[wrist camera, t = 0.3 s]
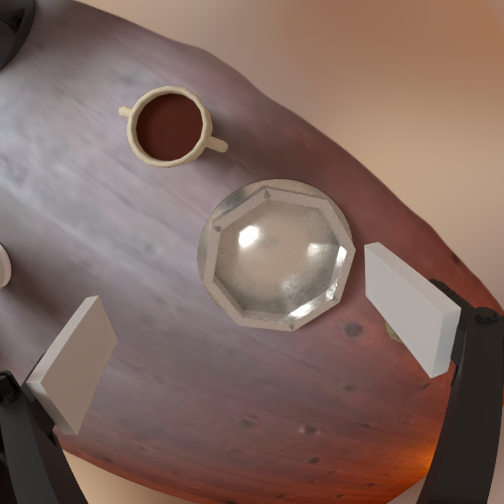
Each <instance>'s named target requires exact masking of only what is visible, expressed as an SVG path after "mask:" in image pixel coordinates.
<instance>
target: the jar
mask: <svg viewBox="0 0 504 504" xmlns="http://www.w3.org/2000/svg"><path fill="white" fill-rule="evenodd" d="M10 277H11V264H10V260H9V257H8V254H7V252H6V251H5V249H4V248H3V246H2V245H1V244H0V289H1V287H3V286H5V285H6V284H7V283H8V282H9V280H10Z"/></svg>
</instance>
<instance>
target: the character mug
mask: <svg viewBox="0 0 504 504" xmlns="http://www.w3.org/2000/svg"><path fill="white" fill-rule="evenodd" d="M119 114H120V115H121V116H122V117H125V118H128V125H127V133H128V139H129V144H130V146H131V147H132V149H133V151H134V152H135V154H136V156H137V157H139V158H140V159H141V160H142V161H143V162H145V163H147V164H149V165H151V166H154V167H163V168H170V167H175V166H180V165H184V164H187V163H189V162H192V161H194V160H195V159H197V158H198V157H199V156H200V155H201V154H202V152H203V151H204V149H205V148H206V147H208V148H211V149H213V150H216V151H218V152H225V151H226V150H227V149H228V144H227V143H226V142H225V141H222V140H220V139H217V138H215V137H212V136H211V135H212V130H213V125H212V120H211V115H210V113H209V112H208V110H207V109H206V107H205V106H204V104H203V103H202V101H201V100H200V99H199V97H198V96H197V95H195V94H193V93H192V92H190V91H188V90H187V89H185V88H184V87H176V86H164V87H160V88H157V89H153V90H151V91H149V92H148V93H147V94H145V95H144V96H143V97H141V98H140V99H139V100H138V101H137V103H136V104H135V106H134V107H133V108H131V107H128V106H123V107H121V108H120V109H119Z"/></svg>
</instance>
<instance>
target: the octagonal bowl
mask: <svg viewBox="0 0 504 504" xmlns="http://www.w3.org/2000/svg"><path fill="white" fill-rule="evenodd" d="M355 251H356V249H355V247H354V245H353V240H352V235H351V231H350V228H349V225H348V222H347V220H346V218H345V216H344V214H343V213H342V211H341V210H340V208H339V207H338V206H337V205H336V204H335V203H334V201H333V200H332V199H330V198H329V197H328V196H327V195H326V194H325V193H323V192H321V191H320V190H318V189H317V188H315V187H313V186H310V185H308V184H306V183H302V182H299V181H295V180H288V179H269V180H262V181H258V182H255V183H251V184H249V185H247V186H244V187H242V188H240V189H238V190H237V191H235V192H233V193H232V194H230V195H229V196H228V197H227V198H225V199H224V200H223V201H222V202H221V203H220V204H219V205H218V206H217V207H216V208H215V210H214V211H213V212H212V214H211V215H210V217H209V218H208V220H207V222H206V224H205V226H204V228H203V231H202V234H201V237H200V241H199V246H198V268H199V273H200V277H201V280H202V282H203V285H204V287H205V289H206V291H207V293H208V294H209V296H210V297H211V298H212V300H213V301H214V302H215V303H216V304H217V305H218V306H219V307H220V308H221V309H222V310H223V311H224V312H226V313H227V314H229V315H230V317H231V318H232V319H233V320H234V321H235V322H236V324H237V325H239V326H247V327H255V328H264V329H273V330H282V331H292V332H293V331H295V330H296V329H298V328H299V327H301V326H303V325H304V324H306V323H308V322H309V321H311V320H312V319H314V318H316V317H317V316H319V315H320V314H322V313H323V312H325V311H327V310H328V309H330V308H331V307H333V306H334V305H336V304H337V303H339V302H340V300H341V296H342V293H343V290H344V287H345V284H346V281H347V278H348V275H349V272H350V269H351V264H352V261H353V258H354V254H355Z"/></svg>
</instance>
